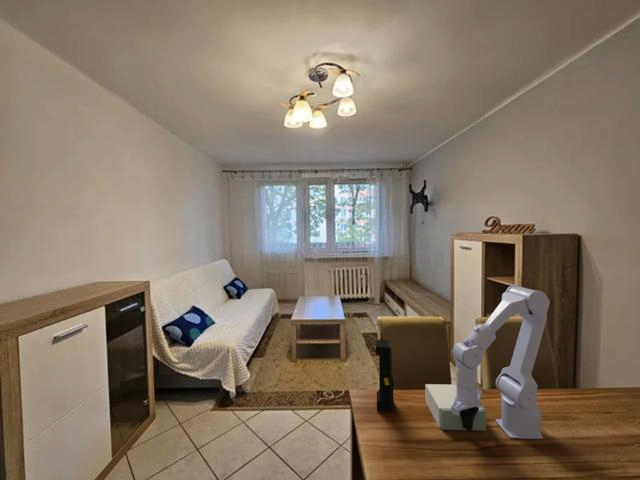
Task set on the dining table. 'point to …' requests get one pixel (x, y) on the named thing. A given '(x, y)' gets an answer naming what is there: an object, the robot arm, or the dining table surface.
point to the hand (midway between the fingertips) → (467, 428)
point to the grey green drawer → (455, 422)
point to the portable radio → (385, 376)
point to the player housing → (440, 398)
